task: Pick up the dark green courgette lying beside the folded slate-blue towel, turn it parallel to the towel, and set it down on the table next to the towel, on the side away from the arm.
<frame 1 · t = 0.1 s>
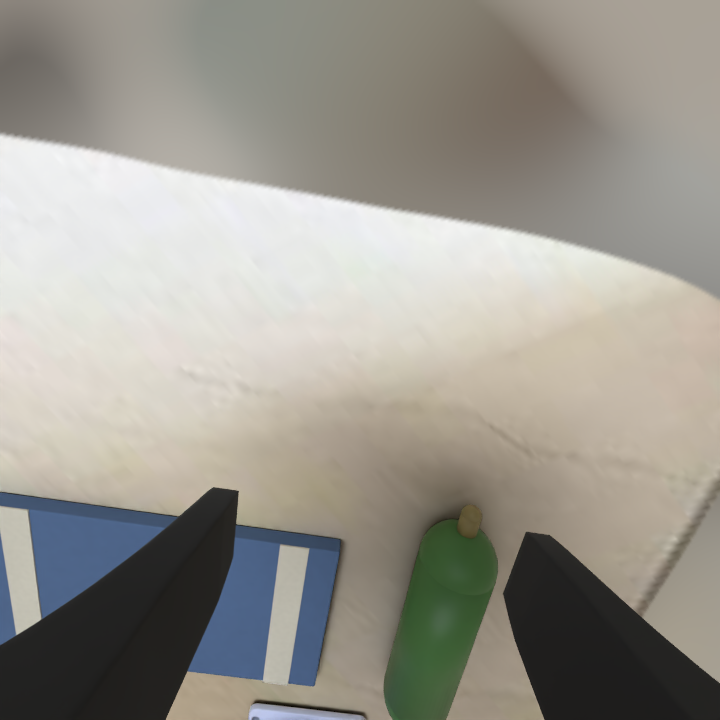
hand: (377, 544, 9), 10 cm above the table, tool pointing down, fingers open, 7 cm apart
towel: (164, 588, 23), on the table
courgette: (429, 597, 23), on the table
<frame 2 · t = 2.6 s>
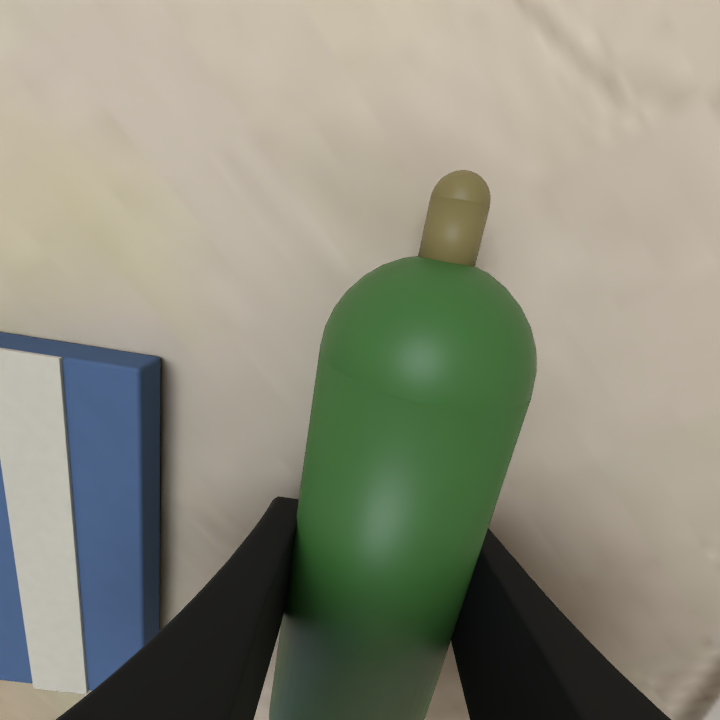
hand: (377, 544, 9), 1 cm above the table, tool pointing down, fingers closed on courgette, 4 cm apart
courgette: (374, 505, 11), on the table, touching gripper
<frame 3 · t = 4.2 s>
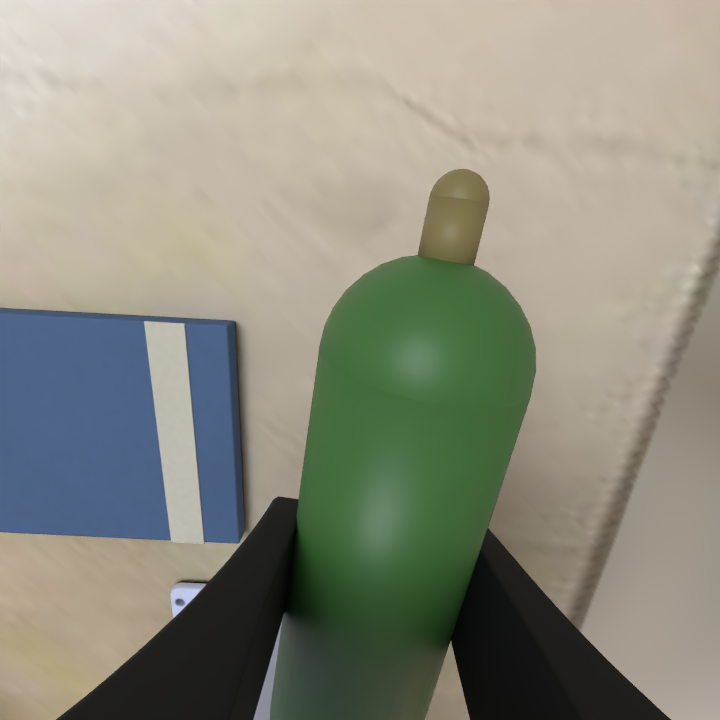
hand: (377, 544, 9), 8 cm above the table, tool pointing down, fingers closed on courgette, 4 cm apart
towel: (26, 423, 18), on the table
courgette: (374, 505, 11), point 7 cm above the table, touching gripper
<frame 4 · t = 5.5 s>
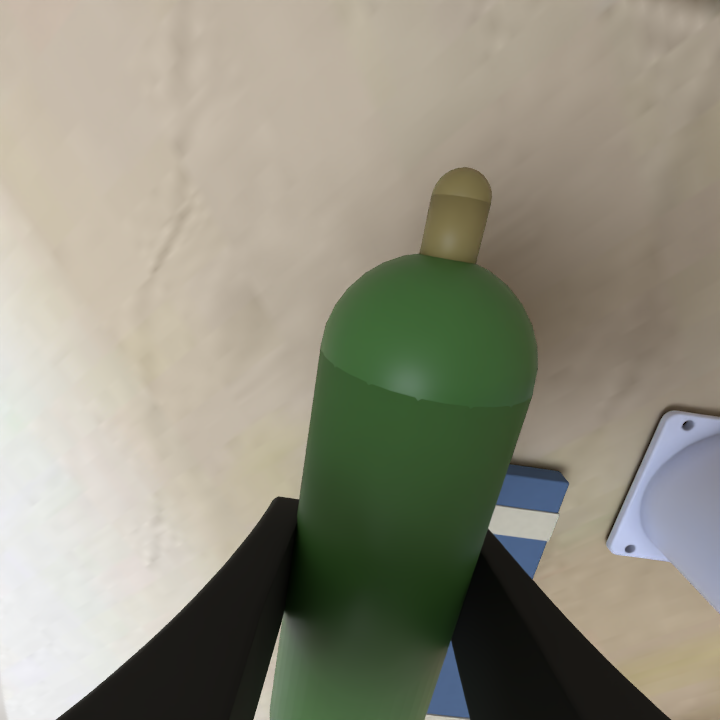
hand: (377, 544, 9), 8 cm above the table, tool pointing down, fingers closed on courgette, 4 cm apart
towel: (408, 609, 21), on the table
courgette: (374, 504, 11), point 7 cm above the table, touching gripper
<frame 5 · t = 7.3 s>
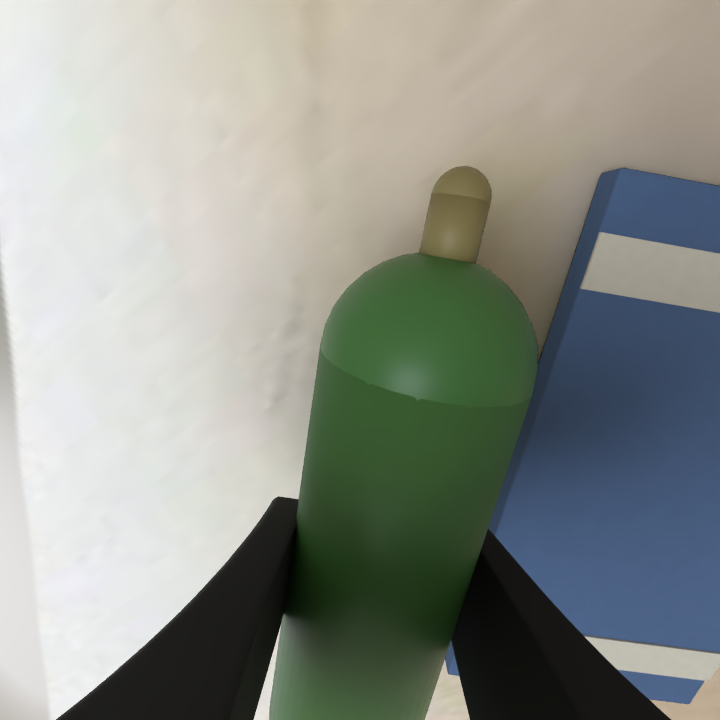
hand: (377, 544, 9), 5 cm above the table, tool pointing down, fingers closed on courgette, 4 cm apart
towel: (644, 484, 15), on the table
courgette: (374, 504, 11), point 3 cm above the table, touching gripper
when the fingers open (1 cm above the table, at t = 8.6 s): courgette stays where it is, on the table.
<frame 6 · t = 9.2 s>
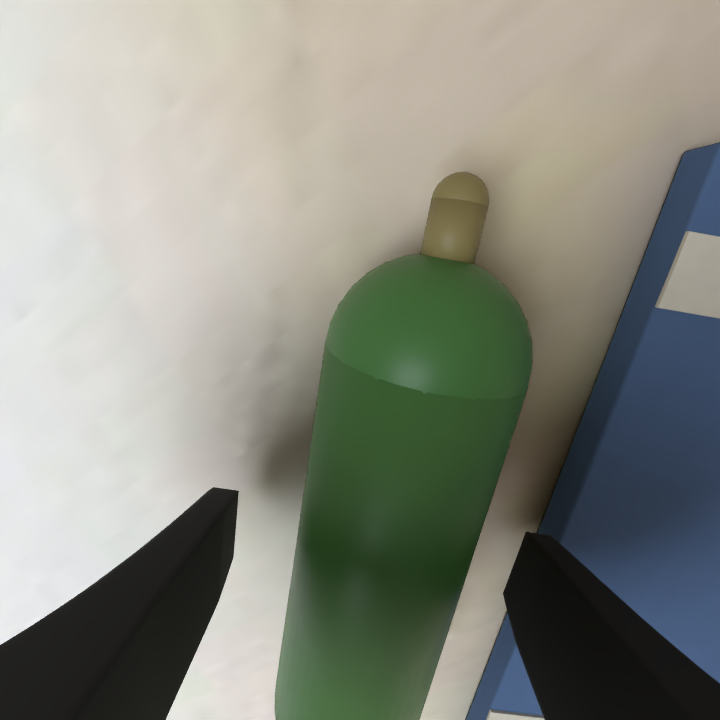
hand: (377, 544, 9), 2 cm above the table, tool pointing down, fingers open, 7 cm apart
towel: (714, 546, 12), on the table
courgette: (373, 496, 11), on the table
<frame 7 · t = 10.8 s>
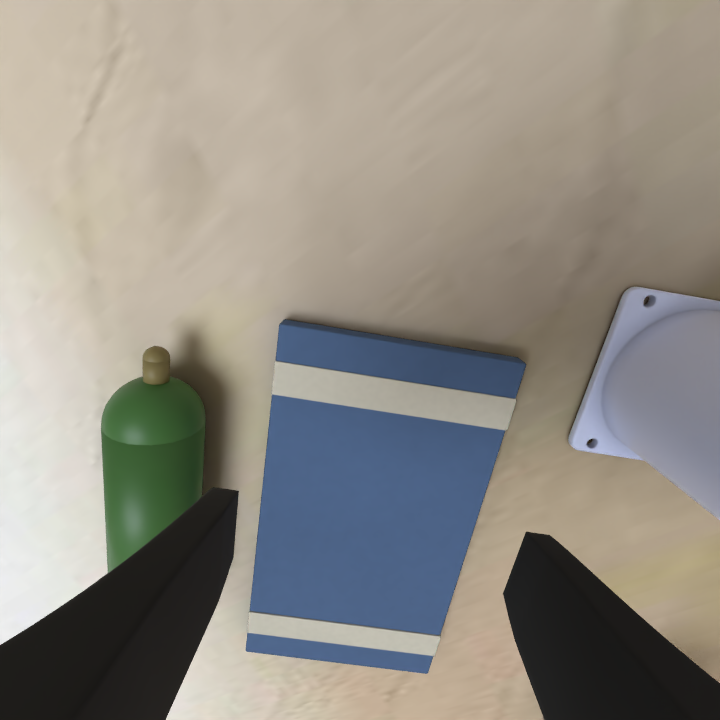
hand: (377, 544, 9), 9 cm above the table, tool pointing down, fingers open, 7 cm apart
towel: (365, 515, 21), on the table
courgette: (168, 487, 20), on the table, tilted 10°
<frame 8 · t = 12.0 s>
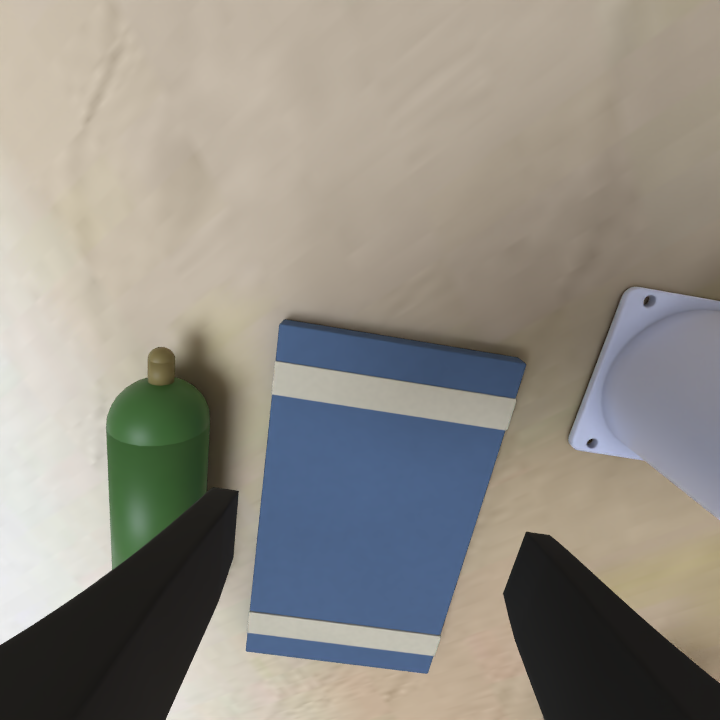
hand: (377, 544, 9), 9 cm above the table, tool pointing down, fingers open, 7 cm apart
towel: (366, 515, 21), on the table
courgette: (168, 487, 20), on the table, tilted 16°
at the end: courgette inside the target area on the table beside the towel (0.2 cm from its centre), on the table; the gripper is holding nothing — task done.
